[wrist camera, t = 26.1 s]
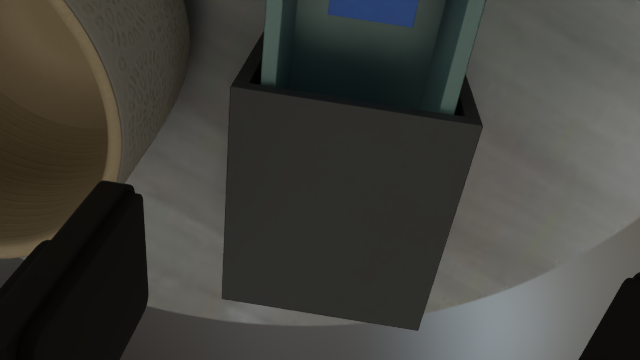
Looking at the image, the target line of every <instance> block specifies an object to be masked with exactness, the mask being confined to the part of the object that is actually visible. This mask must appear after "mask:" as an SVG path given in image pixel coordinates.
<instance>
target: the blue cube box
mask: <svg viewBox="0 0 640 360" xmlns="http://www.w3.org/2000/svg"><path fill="white" fill-rule="evenodd" d="M418 2H419V0H329V6H328V15H334V16H340V17H347V18H353V19H360V20H366V21H372V22H379V23H385V24H392V25H398V26H405V27H411V28H412V27H413V25H414V20H415V16H416V11H417V6H418Z"/></svg>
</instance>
